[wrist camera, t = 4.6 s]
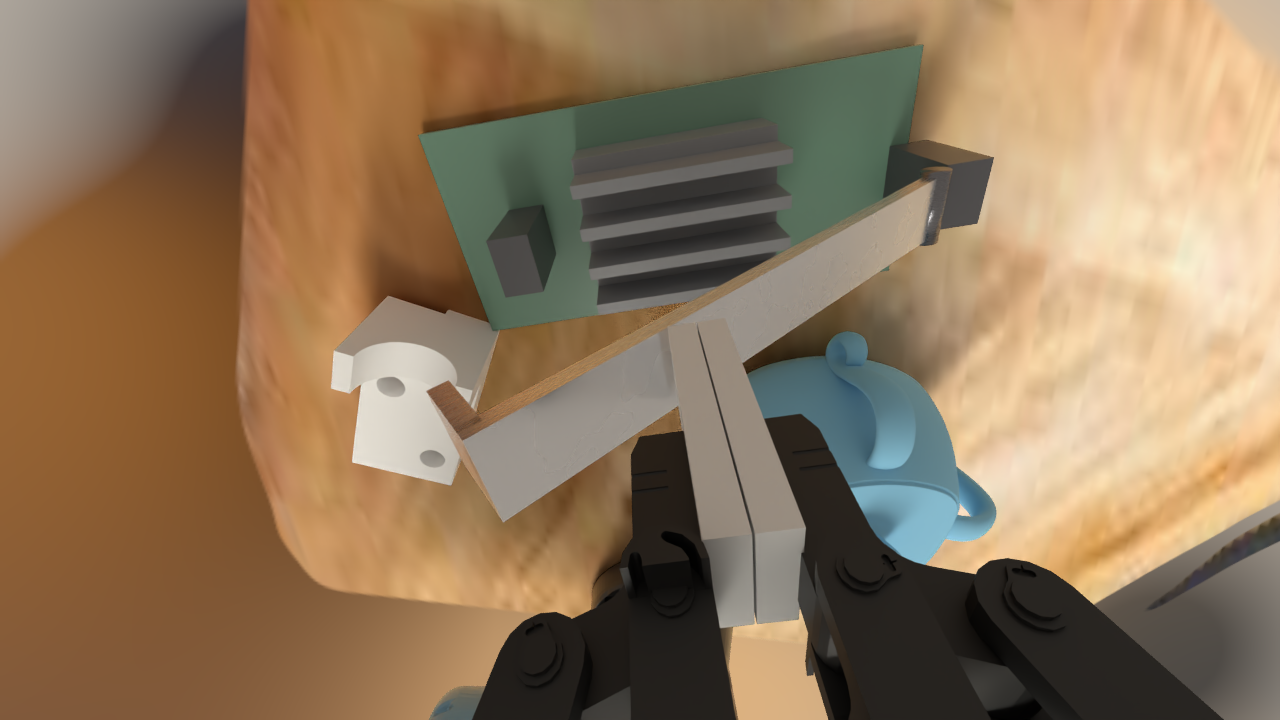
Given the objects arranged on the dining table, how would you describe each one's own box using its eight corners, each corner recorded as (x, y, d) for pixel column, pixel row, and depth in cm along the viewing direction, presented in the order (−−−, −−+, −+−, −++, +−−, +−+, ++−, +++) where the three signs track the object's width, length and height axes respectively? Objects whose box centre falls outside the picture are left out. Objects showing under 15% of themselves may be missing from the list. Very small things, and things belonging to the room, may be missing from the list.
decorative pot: (755, 508, 43) (803, 670, 32) (657, 402, 36) (675, 564, 24) (928, 427, 38) (1058, 584, 27) (856, 285, 31) (995, 419, 19)
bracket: (394, 289, 30) (334, 350, 24) (501, 324, 32) (472, 390, 25) (373, 429, 36) (322, 507, 30) (464, 452, 38) (433, 530, 32)
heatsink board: (898, 263, 30) (956, 306, 25) (495, 325, 31) (470, 378, 26) (934, 41, 23) (1024, 36, 18) (423, 133, 25) (371, 152, 20)
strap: (879, 229, 24) (942, 238, 22) (467, 471, 13) (510, 535, 11) (888, 163, 22) (957, 167, 20) (423, 384, 12) (463, 440, 10)
